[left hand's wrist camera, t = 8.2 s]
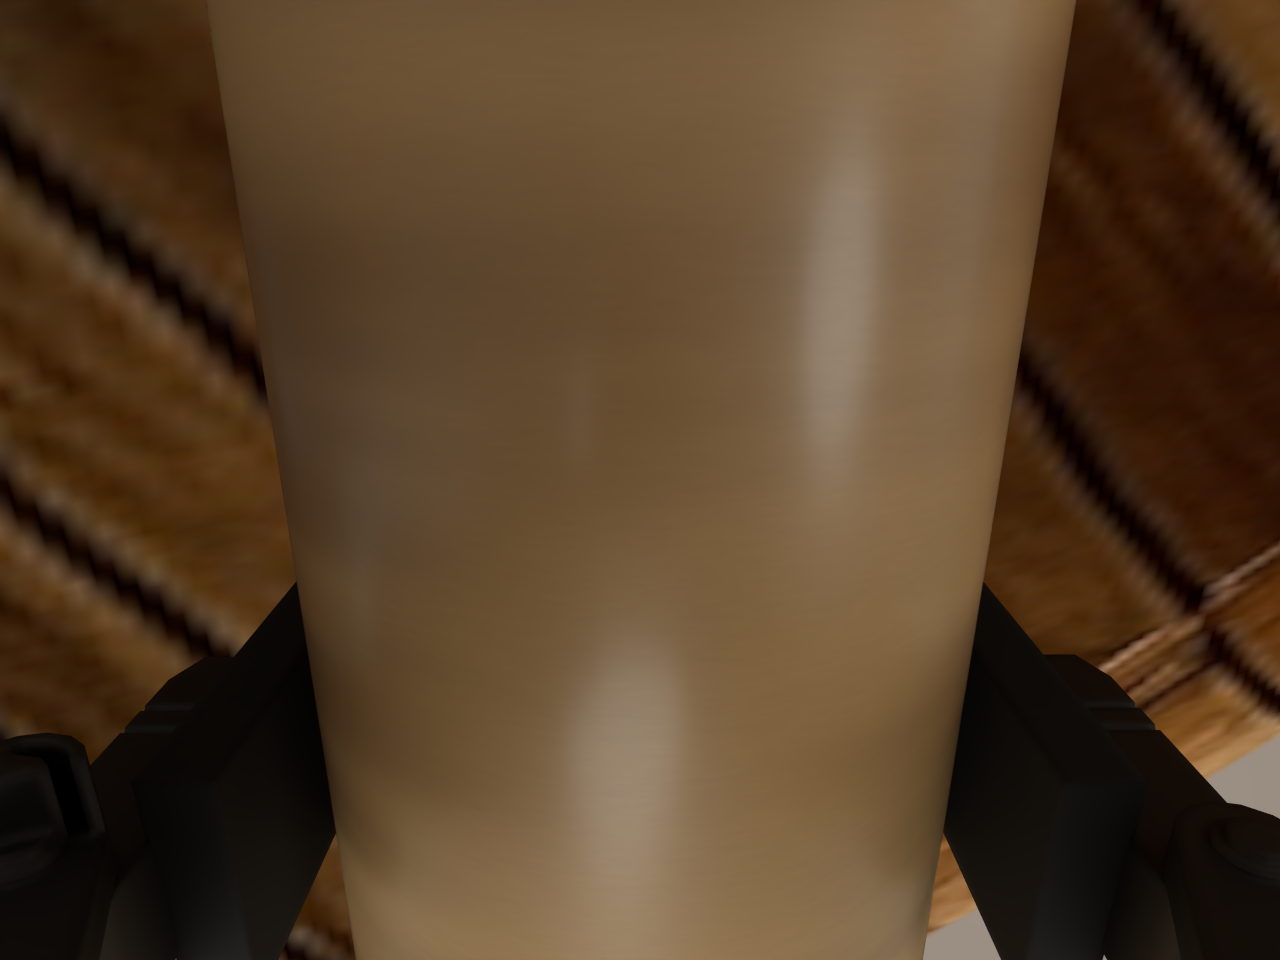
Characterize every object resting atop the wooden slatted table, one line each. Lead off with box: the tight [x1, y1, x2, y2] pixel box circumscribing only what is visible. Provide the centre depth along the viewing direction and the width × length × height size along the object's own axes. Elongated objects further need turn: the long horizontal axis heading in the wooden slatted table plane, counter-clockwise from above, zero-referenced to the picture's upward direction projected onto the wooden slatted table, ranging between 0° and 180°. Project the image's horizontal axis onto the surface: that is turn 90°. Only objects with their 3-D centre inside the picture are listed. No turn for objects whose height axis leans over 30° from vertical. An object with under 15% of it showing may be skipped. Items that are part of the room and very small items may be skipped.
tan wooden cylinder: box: [206, 0, 1076, 960], centre depth 8 cm, size 23×8×8 cm, turn 0°
